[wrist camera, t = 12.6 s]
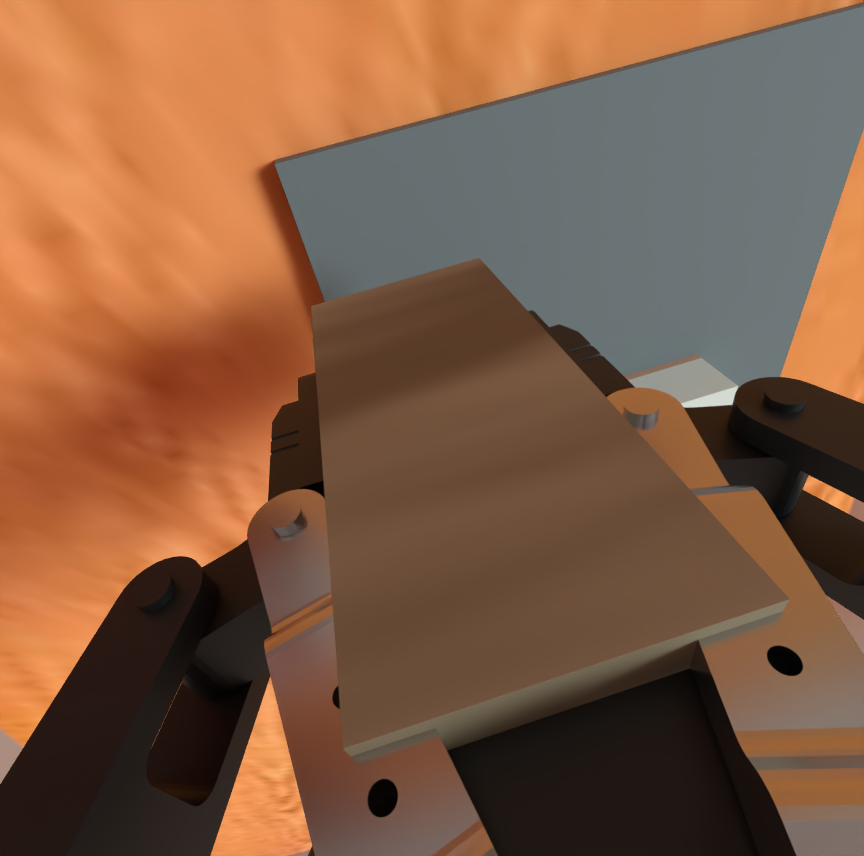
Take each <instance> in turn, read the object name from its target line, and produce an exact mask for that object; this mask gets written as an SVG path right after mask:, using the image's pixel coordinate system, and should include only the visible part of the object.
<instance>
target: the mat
mask: <svg viewBox="0 0 864 856" xmlns="http://www.w3.org/2000/svg"><path fill="white" fill-rule="evenodd" d="M863 129H864V2H863V3H860V4H856V5H852V6H848V7H845V8H841V9H837V10H833V11H830V12H826V13H822V14H818V15H815V16H811V17H807V18H804V19H800V20H796V21H792V22H789V23H785V24H781V25H777V26H774V27H770V28H766V29H762V30H759V31H755V32H751V33H748V34H744V35H740V36H736V37H733V38H729V39H725V40H721V41H718V42H714V43H710V44H706V45H703V46H699V47H695V48H692V49H688V50H684V51H680V52H677V53H673V54H669V55H665V56H662V57H658V58H654V59H650V60H647V61H643V62H639V63H635V64H632V65H628V66H624V67H621V68H617V69H613V70H609V71H606V72H602V73H598V74H594V75H591V76H587V77H583V78H579V79H576V80H572V81H568V82H565V83H561V84H557V85H553V86H550V87H546V88H542V89H538V90H535V91H531V92H527V93H523V94H520V95H516V96H512V97H509V98H505V99H501V100H497V101H494V102H490V103H486V104H482V105H479V106H475V107H471V108H467V109H464V110H460V111H456V112H453V113H449V114H445V115H441V116H438V117H434V118H430V119H426V120H423V121H419V122H415V123H411V124H408V125H404V126H400V127H397V128H393V129H389V130H385V131H382V132H378V133H374V134H370V135H367V136H363V137H359V138H355V139H352V140H348V141H344V142H341V143H337V144H333V145H329V146H326V147H322V148H318V149H314V150H311V151H307V152H303V153H299V154H296V155H292V156H288V157H285V158H281V159H277V160H275V167H276V170H277V172H278V175H279V178H280V180H281V183H282V186H283V189H284V191H285V194H286V197H287V200H288V202H289V205H290V208H291V211H292V213H293V216H294V219H295V221H296V224H297V227H298V230H299V232H300V235H301V238H302V241H303V243H304V246H305V249H306V252H307V254H308V257H309V260H310V263H311V265H312V268H313V271H314V273H315V276H316V279H317V282H318V284H319V287H320V290H321V293H322V295H323V298H324V301H325V302H326V301H330V300H333V299H337V298H340V297H344V296H347V295H351V294H354V293H358V292H361V291H365V290H369V289H372V288H376V287H379V286H383V285H386V284H390V283H393V282H397V281H400V280H404V279H407V278H411V277H414V276H418V275H421V274H425V273H428V272H432V271H435V270H439V269H442V268H446V267H449V266H453V265H456V264H460V263H463V262H467V261H470V260H474V259H477V258H480V259H481V260H482V261H483V262H484V263H485V265H486V266H487V267H488V268H489V269H490V270H491V271H492V272H493V273H494V274H495V276H496V277H497V278H498V279H499V280H500V281H501V282H502V283H503V284H504V285H505V287H506V288H507V289H508V290H509V291H510V292H511V293H512V294H513V295H514V296H515V298H516V299H517V300H518V301H519V302H520V303H521V304H522V305H523V306H524V307H525V309H526V310H527V311H530V310H533V311H534V312H535V313H536V314H537V315H538V316H539V317H540V318H541V319H542V320H543V321H544V322H545V323H546V324H547V325H548V326H549V327H552V326H555V325H558V324H560V325H563V326H565V327H568V328H570V329H573V330H575V331H578V332H579V333H580V334H581V335H582V336H583V337H584V338H585V339H586V340H587V341H588V342H589V343H591V346H594V347H595V348H596V349H597V350H598V351H599V352H600V354H601V356H604V357H605V358H606V359H607V360H608V361H609V362H610V363H611V364H612V365H613V366H614V367H615V368H616V369H617V370H618V371H619V372H620V373H621V374H622V375H623V376H627V375H630V374H633V373H637V372H640V371H643V370H646V369H650V368H653V367H656V366H660V365H663V364H666V363H670V362H673V361H676V360H680V359H683V358H686V357H689V356H693V355H696V354H697V355H698V356H700V357H701V358H702V359H704V360H705V361H706V362H707V363H709V364H710V365H711V366H713V367H714V368H715V369H717V370H718V371H719V372H721V373H722V374H723V375H725V376H726V377H727V378H728V379H730V380H731V381H732V382H734V383H735V384H736V385H738V388H739V387H740V386H741V385H743V384H744V383H746V382H748V381H751V380H754V379H758V378H765V377H780V375H781V372H782V369H783V366H784V363H785V360H786V357H787V354H788V351H789V348H790V345H791V342H792V339H793V336H794V333H795V330H796V327H797V324H798V321H799V318H800V316H801V313H802V310H803V307H804V304H805V301H806V298H807V295H808V292H809V289H810V286H811V283H812V280H813V277H814V274H815V271H816V268H817V265H818V262H819V259H820V256H821V253H822V250H823V247H824V244H825V241H826V238H827V235H828V232H829V230H830V227H831V224H832V221H833V218H834V215H835V212H836V209H837V206H838V203H839V200H840V197H841V194H842V191H843V188H844V185H845V182H846V179H847V176H848V173H849V170H850V167H851V164H852V161H853V158H854V155H855V152H856V149H857V146H858V143H859V141H860V138H861V135H862V132H863Z"/></svg>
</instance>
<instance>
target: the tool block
mask: <svg viewBox="0 0 864 856" xmlns="http://www.w3.org/2000/svg"><path fill="white" fill-rule="evenodd" d="M311 315H312V329H313V342H314V356H315V370H316V384H317V397H318V411H319V425H320V439H321V453H322V466H323V480H324V494H325V508H326V521H327V535H328V549H329V563H330V577H331V590H332V604H333V618H334V632H335V645H336V659H337V673H338V687H339V701H340V714H341V728H342V742H343V749H344V750H345V751H346V752H347V753H348V754H349V756H350V757H351V756H354V755H357V754H359V753H362V752H365V751H368V750H371V749H374V748H377V747H380V746H383V745H386V744H389V743H392V742H395V741H398V740H401V739H404V738H407V737H410V736H413V735H416V734H419V733H422V732H425V731H428V730H431V729H434V728H436V729H437V731H438V733H439V735H440V737H441V739H442V741H443V743H444V744H445V746H446V748H447V750H450V749H453V748H456V747H459V746H462V745H465V744H468V743H471V742H474V741H477V740H480V739H483V738H486V737H489V736H492V735H495V734H498V733H501V732H503V731H506V730H509V729H512V728H515V727H518V726H521V725H524V724H527V723H530V722H533V721H536V720H539V719H542V718H545V717H548V716H551V715H554V714H557V713H560V712H562V711H565V710H568V709H571V708H574V707H577V706H580V705H583V704H586V703H589V702H592V701H595V700H598V699H601V698H604V697H607V696H610V695H613V694H616V693H619V692H621V691H624V690H627V689H630V688H633V687H636V686H639V685H642V684H645V683H648V682H651V681H654V680H657V679H660V678H663V677H666V676H669V675H672V674H675V673H677V672H680V671H683V670H686V669H689V668H691V666H690V662H691V659H692V656H693V653H694V650H695V648H696V645H697V642H698V640H699V639H702V638H705V637H708V636H711V635H714V634H717V633H720V632H723V631H725V630H728V629H731V628H734V627H737V626H740V625H743V624H746V623H749V622H752V621H755V620H758V619H761V618H764V617H767V616H770V615H773V614H776V613H779V612H782V611H784V609H785V607H786V605H787V603H788V602H789V600H790V599H789V598H788V597H787V595H786V594H785V593H784V592H783V591H782V590H781V589H780V588H779V587H778V586H777V584H776V583H775V582H774V581H773V580H772V579H771V578H770V577H769V576H768V575H767V573H766V572H765V571H764V570H763V569H762V568H761V567H760V566H759V565H758V564H757V563H756V561H755V560H754V559H753V558H752V557H751V556H750V555H749V554H748V553H747V552H746V550H745V549H744V548H743V547H742V546H741V545H740V544H739V543H738V542H737V541H736V539H735V538H734V537H733V536H732V535H731V534H730V533H729V532H728V531H727V530H726V528H725V527H724V526H723V525H722V524H721V523H720V522H719V521H718V520H717V519H716V517H715V516H714V515H713V514H712V513H711V512H710V511H709V510H708V509H707V508H706V506H705V505H704V504H703V503H702V502H701V501H700V500H699V499H698V498H697V497H696V495H695V494H694V493H693V492H692V491H691V490H690V489H689V488H688V487H687V486H686V484H685V483H684V482H683V481H682V480H681V479H680V478H679V477H678V476H677V475H676V473H675V472H674V471H673V470H672V469H671V468H670V467H669V466H668V465H667V464H666V462H665V461H664V460H663V459H662V458H661V457H660V456H659V455H658V454H657V453H656V451H655V450H654V449H653V448H652V447H651V446H650V445H649V444H648V443H647V442H646V440H645V439H644V438H643V437H642V436H641V435H640V434H639V433H638V432H637V431H636V429H635V428H634V427H633V426H632V425H631V424H630V423H629V422H628V421H627V420H626V418H625V417H624V416H623V415H622V414H621V413H620V412H619V411H618V410H617V409H616V407H615V406H614V405H613V404H612V403H611V402H610V401H609V400H608V399H607V398H606V396H605V395H604V394H603V393H602V392H601V391H600V390H599V389H598V388H597V387H596V385H595V384H594V383H593V382H592V381H591V380H590V379H589V378H588V377H587V376H586V374H585V373H584V372H583V371H582V370H581V369H580V368H579V367H578V366H577V365H576V363H575V362H574V361H573V360H572V359H571V358H570V357H569V356H568V355H567V354H566V353H565V351H564V350H563V349H562V348H561V347H560V346H559V345H558V344H557V343H556V342H555V340H554V339H553V338H552V337H551V336H550V335H549V334H548V333H547V332H546V331H545V329H544V328H543V327H542V326H541V325H540V324H539V323H538V322H537V321H536V320H535V318H534V317H533V316H532V315H531V314H530V313H529V312H528V311H527V310H526V309H525V307H524V306H523V305H522V304H521V303H520V302H519V301H518V300H517V299H516V298H515V296H514V295H513V294H512V293H511V292H510V291H509V290H508V289H507V288H506V287H505V285H504V284H503V283H502V282H501V281H500V280H499V279H498V278H497V277H496V276H495V274H494V273H493V272H492V271H491V270H490V269H489V268H488V267H487V266H486V265H485V263H484V262H483V261H482V260H481V259H480V258H477V259H474V260H470V261H467V262H463V263H460V264H456V265H453V266H449V267H446V268H442V269H439V270H435V271H432V272H428V273H425V274H421V275H418V276H414V277H411V278H407V279H404V280H400V281H397V282H393V283H390V284H386V285H383V286H379V287H376V288H372V289H369V290H365V291H361V292H358V293H354V294H351V295H347V296H344V297H340V298H337V299H333V300H330V301H326V302H323V303H319V304H316V305H312V306H311Z"/></svg>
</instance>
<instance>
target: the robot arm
mask: <svg viewBox="0 0 864 856" xmlns="http://www.w3.org/2000/svg"><path fill="white" fill-rule="evenodd" d="M528 312H529V313H530V314H531V315H532V316H533V317H534V318H535V320H536V321H537V322H538V323H539V324H540V325H541V326H542V327H543V328H544V329H545V331H546V332H547V333H548V334H549V335H550V336H551V337H552V338H553V339H554V340H555V342H556V343H557V344H558V345H559V346H560V347H561V348H562V349H563V350H564V351H565V353H566V354H567V355H568V356H569V357H570V358H571V359H572V360H573V361H574V362H575V363H576V365H577V366H578V367H579V368H580V369H581V370H582V371H583V372H584V373H585V374H586V376H587V377H588V378H589V379H590V380H591V381H592V382H593V383H594V384H595V385H596V387H597V388H598V389H599V390H600V391H601V392H602V393H603V394H604V395H605V396H606V398H607V399H608V400H609V401H610V402H611V403H612V404H613V405H614V406H615V407H616V409H617V410H618V411H619V412H620V413H621V414H622V415H623V416H624V417H625V418H626V420H627V421H628V422H629V423H630V424H631V425H632V426H633V427H634V428H635V429H636V431H637V432H638V433H639V434H640V435H641V436H642V437H643V438H644V439H645V440H646V442H647V443H648V444H649V445H650V446H651V447H652V448H653V449H654V450H655V451H656V453H657V454H658V455H659V456H660V457H661V458H662V459H663V460H664V461H665V462H666V464H667V465H668V466H669V467H670V468H671V469H672V470H673V471H674V472H675V473H676V475H677V476H678V477H679V478H680V479H681V480H682V481H683V482H684V483H685V484H686V486H687V487H688V488H689V489H690V490H691V491H692V492H693V493H694V494H695V495H696V497H697V498H698V499H699V500H700V501H701V502H702V503H703V504H704V505H705V506H706V508H707V509H708V510H709V511H710V512H711V513H712V514H713V515H714V516H715V517H716V519H717V520H718V521H719V522H720V523H721V524H722V525H723V526H724V527H725V528H726V530H727V531H728V532H729V533H730V534H731V535H732V536H733V537H734V538H735V539H736V541H737V542H738V543H739V544H740V545H741V546H742V547H743V548H744V549H745V550H746V552H747V553H748V554H749V555H750V556H751V557H752V558H753V559H754V560H755V561H756V563H757V564H758V565H759V566H760V567H761V568H762V569H763V570H764V571H765V572H766V573H767V575H768V576H769V577H770V578H771V579H772V580H773V581H774V582H775V583H776V584H777V586H778V587H779V588H780V589H781V590H782V591H783V592H784V593H785V594H786V595H787V597H788V598H789V599H790V600H789V602H788V603H787V605H786V607H785V609H784V611H782V612H779V613H776V614H773V615H770V616H767V617H764V618H761V619H758V620H755V621H752V622H749V623H746V624H743V625H740V626H737V627H734V628H731V629H728V630H725V631H723V632H720V633H717V634H714V635H711V636H708V637H705V638H702V639H699V640H698V642H697V645H696V648H695V650H694V653H693V656H692V659H691V662H690V666H691V668H689V669H686V670H683V671H680V672H677V673H675V674H672V675H669V676H666V677H663V678H660V679H657V680H654V681H651V682H648V683H645V684H642V685H639V686H636V687H633V688H630V689H627V690H624V691H621V692H619V693H616V694H613V695H610V696H607V697H604V698H601V699H598V700H595V701H592V702H589V703H586V704H583V705H580V706H577V707H574V708H571V709H568V710H565V711H562V712H560V713H557V714H554V715H551V716H548V717H545V718H542V719H539V720H536V721H533V722H530V723H527V724H524V725H521V726H518V727H515V728H512V729H509V730H506V731H503V732H501V733H498V734H495V735H492V736H489V737H486V738H483V739H480V740H477V741H474V742H471V743H468V744H465V745H462V746H459V747H456V748H453V749H450V750H447V748H446V746H445V744H444V743H443V741H442V739H441V737H440V735H439V733H438V731H437V729H436V728H434V729H431V730H428V731H425V732H422V733H419V734H416V735H413V736H410V737H407V738H404V739H401V740H398V741H395V742H392V743H389V744H386V745H383V746H380V747H377V748H374V749H371V750H368V751H365V752H362V753H359V754H357V755H354V756H351V757H350V756H349V754H348V753H347V752H346V751H345V750H344V749H343V742H342V728H341V714H340V701H339V687H338V673H337V659H336V645H335V632H334V618H333V604H332V590H331V577H330V563H329V549H328V535H327V521H326V508H325V494H324V480H323V466H322V453H321V439H320V425H319V411H318V397H317V384H316V373H313V374H310V375H306V376H303V377H299V378H298V401H296V402H293V403H289V404H286V405H283V406H282V407H281V409H280V410H279V412H278V414H277V415H276V417H275V419H274V420H273V422H272V441H271V453H272V455H271V456H270V475H269V494H268V502H267V503H265V504H264V505H263V506H262V507H261V508H260V509H259V510H258V511H257V512H256V514H255V515H254V517H253V518H252V520H251V522H250V524H249V527H248V532H247V538H248V539H247V540H246V541H244V542H243V543H242V544H241V545H239V546H238V547H236V548H235V549H233V550H231V551H230V552H228V553H226V554H224V555H223V556H221V557H219V558H218V559H216V560H214V561H212V562H211V563H209V564H207V565H206V566H204V567H201V566H200V565H199V564H198V563H197V562H196V561H195V560H194V559H192V558H189V557H183V556H178V557H171V558H167V559H164V560H162V561H159V562H157V563H155V564H153V565H151V566H150V567H148V568H147V569H145V570H144V571H142V572H141V573H140V574H138V575H137V576H136V577H135V578H134V579H133V580H132V581H131V582H130V583H129V584H128V585H127V586H126V587H125V589H124V590H123V591H122V593H121V594H120V596H119V597H118V599H117V600H116V602H115V604H114V605H113V607H112V608H111V610H110V611H109V613H108V615H107V616H106V618H105V619H104V621H103V623H102V624H101V626H100V627H99V629H98V630H97V632H96V634H95V635H94V637H93V638H92V640H91V642H90V643H89V645H88V646H87V648H86V650H85V651H84V653H83V654H82V656H81V657H80V659H79V661H78V662H77V664H76V665H75V667H74V669H73V670H72V672H71V673H70V675H69V676H68V678H67V680H66V681H65V683H64V684H63V686H62V688H61V689H60V691H59V692H58V694H57V695H56V697H55V699H54V700H53V702H52V703H51V705H50V707H49V708H48V710H47V711H46V713H45V714H44V716H43V718H42V719H41V721H40V722H39V724H38V726H37V727H36V729H35V730H34V732H33V733H32V735H31V737H30V738H29V740H28V741H27V743H26V745H25V746H24V748H23V749H22V751H21V753H20V754H19V756H18V757H17V759H16V761H15V762H14V764H13V765H12V767H11V768H10V770H9V772H8V773H7V775H6V776H5V778H4V779H3V781H2V783H1V784H0V856H210V855H211V852H212V849H213V846H214V843H215V840H216V837H217V834H218V831H219V828H220V825H221V822H222V819H223V816H224V813H225V810H226V807H227V804H228V801H229V798H230V795H231V792H232V789H233V786H234V783H235V780H236V777H237V774H238V771H239V768H240V765H241V762H242V759H243V756H244V753H245V750H246V747H247V744H248V741H249V738H250V735H251V732H252V729H253V726H254V723H255V720H256V717H257V714H258V711H259V708H260V705H261V702H262V699H263V696H264V693H265V690H266V687H267V684H268V681H269V678H270V676H271V680H272V684H273V688H274V692H275V696H276V700H277V704H278V708H279V712H280V716H281V720H282V724H283V728H284V732H285V736H286V741H287V745H288V749H289V753H290V757H291V761H292V765H293V769H294V773H295V777H296V781H297V785H298V789H299V793H300V797H301V801H302V805H303V809H304V813H305V818H306V822H307V826H308V830H309V834H310V838H311V842H312V848H311V850H310V852H309V854H308V856H864V654H863V652H862V651H861V649H860V648H859V646H858V645H857V643H856V642H855V640H854V638H853V637H852V635H851V634H850V632H849V630H848V629H847V627H846V626H845V624H844V623H843V621H842V620H841V618H840V616H839V615H838V613H837V612H836V610H835V608H834V607H833V606H832V604H831V602H830V601H829V599H828V598H827V596H829V597H830V598H831V599H833V600H835V601H836V602H838V603H839V604H841V605H842V606H844V607H845V608H847V609H848V610H850V611H851V612H853V613H854V614H856V615H857V616H859V617H861V618H862V619H864V522H862V521H860V520H858V519H856V518H855V517H853V516H851V515H849V514H847V513H845V512H844V511H842V510H840V509H838V508H836V507H834V506H832V505H830V504H828V503H827V502H825V501H823V500H821V499H819V498H817V497H815V496H813V495H811V494H810V493H808V492H806V491H804V490H802V489H803V487H804V484H805V482H806V480H807V478H808V476H809V475H810V476H812V477H814V478H816V479H818V480H820V481H822V482H824V483H826V484H828V485H830V486H832V487H834V488H836V489H838V490H840V491H842V492H844V493H846V494H848V495H850V496H852V497H854V498H856V499H858V500H860V501H862V502H864V404H862V403H860V402H857V401H854V400H852V399H849V398H846V397H844V396H841V395H838V394H836V393H833V392H831V391H828V390H825V389H823V388H820V387H817V386H815V385H812V384H810V383H807V382H804V381H800V380H796V379H791V378H784V377H765V378H758V379H754V380H751V381H748V382H746V383H744V384H743V385H741V386H740V387H739V388H738V389H737V391H736V393H735V397H734V400H733V404H732V405H722V406H708V407H689V408H686V407H683V406H682V404H681V403H680V402H679V401H678V400H677V399H676V398H674V397H673V396H671V395H669V394H667V393H665V392H662V391H659V390H655V389H650V388H635V387H634V386H633V385H632V384H631V383H630V382H629V381H628V380H627V379H626V378H625V377H624V376H623V375H622V374H621V373H620V372H619V371H618V370H617V369H616V368H615V367H614V366H613V365H612V364H611V363H610V362H609V361H608V360H607V359H606V358H605V357H604V356H601V354H600V352H599V351H598V350H597V349H596V348H595V347H594V346H591V343H589V342H588V341H587V340H586V339H585V338H584V337H583V336H582V335H581V334H580V333H579V332H578V331H575V330H573V329H570V328H568V327H565V326H563V325H560V324H558V325H555V326H552V327H549V326H548V325H547V324H546V323H545V322H544V321H543V320H542V319H541V318H540V317H539V316H538V315H537V314H536V313H535V312H534V311H533V310H530V311H528ZM826 595H827V596H826ZM181 682H182V683H181ZM180 684H181V685H180ZM179 686H180V687H179ZM177 691H178V692H177ZM176 693H177V694H176ZM175 695H176V696H175ZM174 697H175V698H174ZM173 699H174V700H173ZM172 702H173V703H172ZM171 704H172V705H171ZM170 706H171V707H170ZM169 708H170V709H169ZM168 710H169V711H168ZM167 712H168V713H167ZM166 715H167V716H166ZM165 717H166V718H165ZM164 719H165V720H164ZM163 721H164V722H163ZM162 723H163V724H162ZM160 728H161V729H160ZM159 730H160V731H159ZM158 732H159V733H158ZM157 734H158V735H157ZM156 736H157V737H156ZM155 739H156V740H155ZM154 741H155V742H154ZM153 743H154V744H153ZM152 745H153V746H152Z"/></svg>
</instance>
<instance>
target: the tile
mask: <svg viewBox="0 0 864 856" xmlns="http://www.w3.org/2000/svg"><path fill="white" fill-rule="evenodd" d="M624 377H625V378H626V379H627V380H628V381H629V382H630V383H631V384H632V385H633V386H634V387H635V388H650V389H655V390H659V391H662V392H665V393H667V394H669V395H671V396H673V397H674V398H676V399H677V400H678V401H679V402H680V403H681V404H682V406H683V407H686V408H689V407H708V406H722V405H732V404H733V400H734V397H735V393H736V391H737V389H738V385H736V384H735V383H734V382H732V381H731V380H730V379H728V378H727V377H726V376H725V375H723V374H722V373H721V372H719V371H718V370H717V369H715V368H714V367H713V366H711V365H710V364H709V363H707V362H706V361H705V360H704V359H702V358H701V357H700V356H698V355H697V354H696V355H693V356H689V357H686V358H683V359H680V360H676V361H673V362H670V363H666V364H663V365H660V366H656V367H653V368H650V369H646V370H643V371H640V372H637V373H633V374H630V375H627V376H624Z"/></svg>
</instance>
